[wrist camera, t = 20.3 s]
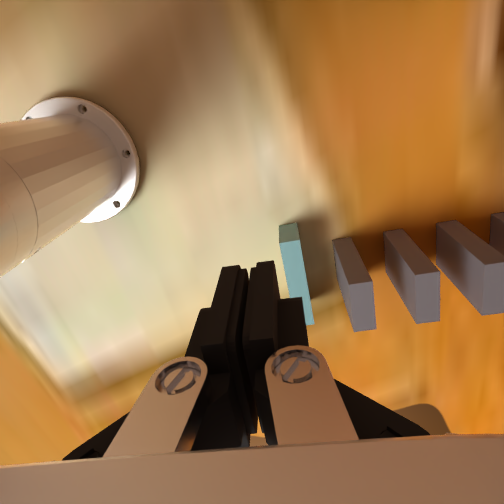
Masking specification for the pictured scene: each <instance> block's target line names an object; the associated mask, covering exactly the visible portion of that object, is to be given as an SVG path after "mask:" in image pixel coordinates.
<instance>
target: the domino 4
mask: <svg viewBox="0 0 504 504" xmlns="http://www.w3.org/2000/svg"><path fill="white" fill-rule="evenodd" d="M436 265H437V266H438V267H439V268H440V269H441V270H442V271H443V273H444V274H445V275H446V276H447V277H448V278H449V279H450V280H451V281H452V283H453V284H454V285H455V286H456V287H457V288H458V289H459V290H460V292H461V293H462V294H463V295H464V296H465V297H466V298H467V299H468V300H469V302H470V303H471V304H472V305H473V306H474V307H475V308H476V309H477V311H478V312H479V313H480V314H481V315H490V314H498V313H504V256H503V255H502V254H501V253H499V252H498V251H497V250H495V249H494V248H493V247H491V246H490V245H489V244H487V243H486V242H485V241H483V240H482V239H481V238H479V237H478V236H477V235H475V234H474V233H473V232H471V231H470V230H469V229H467V228H466V227H465V226H464V225H462V224H461V223H460V222H458V221H457V220H452V221H446V222H440V223H436Z"/></svg>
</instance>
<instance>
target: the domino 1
mask: <svg viewBox="0 0 504 504" xmlns="http://www.w3.org/2000/svg"><path fill="white" fill-rule="evenodd" d="M279 244H280V249H281V254H282V259H283V264H284V269H285V275H286V280H287V285H288V290H289V295H290V298H295V297H302V300H303V307H304V314H305V322H306V325H311V324H314V319H313V313H312V307H311V301H310V295H309V289H308V283H307V278H306V272H305V266H304V260H303V255H302V249H301V243H300V237H299V231H298V226H297V223H292V224H287V225H281V226H279Z"/></svg>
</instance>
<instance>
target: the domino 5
mask: <svg viewBox="0 0 504 504" xmlns="http://www.w3.org/2000/svg"><path fill="white" fill-rule="evenodd" d="M489 245H490V246H491V247H493V248H494V249H495V250H497V251H498V252H499V253H501V254H502V255H503V256H504V212H501V213H495V214H491V226H490V242H489Z"/></svg>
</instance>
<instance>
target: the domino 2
mask: <svg viewBox="0 0 504 504" xmlns="http://www.w3.org/2000/svg"><path fill="white" fill-rule="evenodd" d="M332 242H333V250H334V258H335V266H336V274H337V280H338V283H339V286H340V290H341V293H342V296H343V299H344V302H345V305H346V308H347V312H348V315H349V318H350V321H351V324H352V327H353V330H354V332H358V331H365V330H373V329H376V318H375V305H374V293H373V281H372V279H371V277H370V275H369V273H368V271H367V269H366V267H365V265H364V263H363V261H362V259H361V257H360V255H359V253H358V251H357V249H356V247H355V245H354V243H353V241H352V239H351V237H348V238H342V239H335V240H332Z"/></svg>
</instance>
